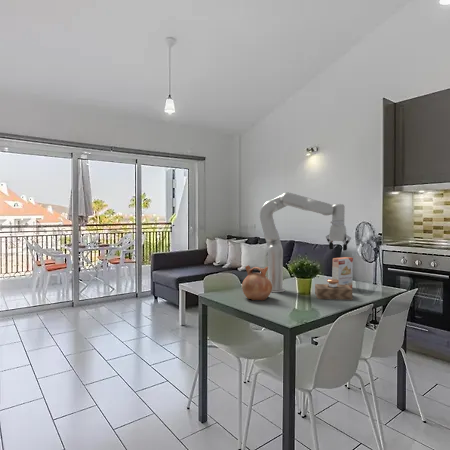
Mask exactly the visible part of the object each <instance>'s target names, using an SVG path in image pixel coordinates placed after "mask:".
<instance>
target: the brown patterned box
mask: <svg viewBox="0 0 450 450" xmlns="http://www.w3.org/2000/svg"><path fill="white" fill-rule="evenodd" d="M314 294H315V297H316V298H317V300H346V301H348V300H350V301H351V300H353V288H350V287H349V286H348V285H337V288H329V283H326V284H325V283H322V284H321V283H315V284H314Z"/></svg>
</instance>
